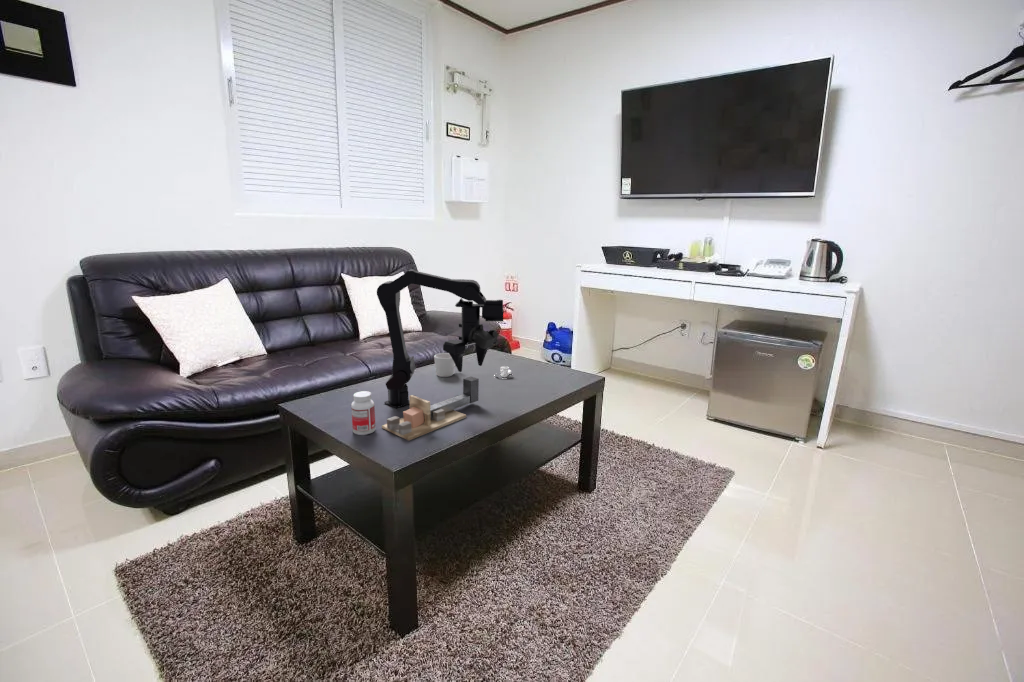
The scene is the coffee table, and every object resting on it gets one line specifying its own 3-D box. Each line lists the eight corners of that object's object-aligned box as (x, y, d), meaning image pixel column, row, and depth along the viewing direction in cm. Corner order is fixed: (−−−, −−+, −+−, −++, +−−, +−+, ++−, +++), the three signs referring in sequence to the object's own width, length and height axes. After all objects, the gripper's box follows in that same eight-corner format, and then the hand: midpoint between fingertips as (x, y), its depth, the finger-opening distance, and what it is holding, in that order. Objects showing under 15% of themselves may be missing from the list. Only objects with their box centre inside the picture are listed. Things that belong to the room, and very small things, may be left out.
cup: (449, 369, 192) (449, 350, 190) (464, 373, 187) (464, 353, 185) (430, 375, 183) (429, 355, 181) (445, 380, 179) (445, 359, 177)
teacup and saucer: (506, 372, 191) (506, 362, 190) (520, 377, 186) (520, 367, 185) (489, 376, 185) (489, 366, 184) (503, 381, 180) (503, 371, 179)
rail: (381, 428, 136) (380, 401, 134) (439, 407, 152) (439, 383, 150) (408, 440, 128) (408, 413, 126) (466, 417, 145) (466, 392, 143)
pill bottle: (368, 424, 138) (366, 388, 135) (379, 431, 134) (378, 394, 131) (348, 430, 133) (346, 393, 131) (359, 437, 129) (357, 399, 127)
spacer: (404, 424, 137) (402, 411, 135) (415, 419, 140) (413, 406, 138) (413, 428, 134) (412, 415, 133) (424, 422, 137) (422, 410, 136)
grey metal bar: (417, 417, 140) (416, 393, 138) (470, 397, 157) (470, 376, 155) (425, 420, 138) (424, 396, 136) (478, 400, 155) (478, 378, 153)
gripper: (468, 329, 136) (467, 380, 140) (509, 320, 150) (508, 367, 154) (441, 323, 143) (442, 372, 147) (483, 315, 157) (483, 360, 161)
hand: (470, 368), depth 152 cm, fingers open, 9 cm apart
